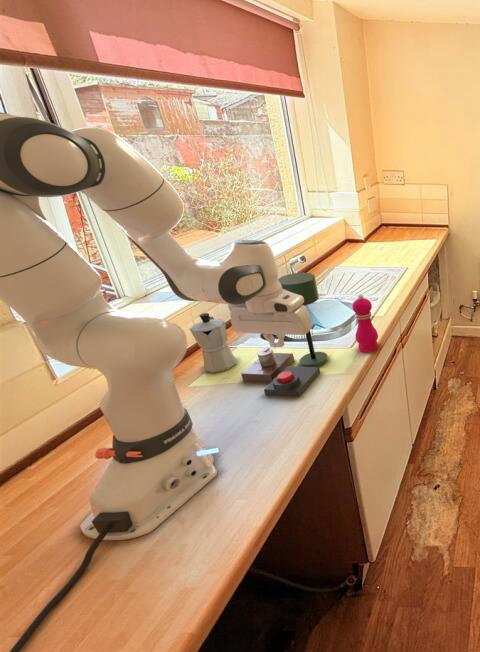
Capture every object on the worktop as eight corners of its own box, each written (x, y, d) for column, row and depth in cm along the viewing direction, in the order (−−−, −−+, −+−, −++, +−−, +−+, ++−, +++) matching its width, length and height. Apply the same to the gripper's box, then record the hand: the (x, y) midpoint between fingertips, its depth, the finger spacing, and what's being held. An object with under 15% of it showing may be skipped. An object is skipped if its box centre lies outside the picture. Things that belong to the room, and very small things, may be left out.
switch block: (299, 397, 112) (296, 386, 111) (265, 396, 113) (261, 384, 111) (320, 373, 123) (318, 362, 122) (289, 372, 124) (286, 361, 122)
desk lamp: (322, 371, 124) (303, 285, 112) (290, 370, 125) (269, 283, 113) (336, 354, 133) (320, 273, 122) (307, 353, 134) (288, 272, 122)
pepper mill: (352, 350, 136) (343, 296, 128) (368, 341, 142) (360, 289, 134) (368, 355, 133) (359, 300, 125) (383, 346, 139) (376, 293, 131)
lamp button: (288, 383, 112) (287, 378, 111) (276, 383, 112) (274, 378, 112) (295, 376, 115) (294, 371, 115) (283, 375, 116) (282, 370, 115)
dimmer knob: (270, 366, 121) (267, 354, 119) (257, 366, 121) (254, 354, 119) (278, 359, 124) (274, 347, 123) (265, 359, 125) (262, 347, 123)
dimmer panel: (272, 383, 118) (270, 374, 117) (243, 382, 119) (240, 373, 117) (294, 361, 129) (292, 353, 128) (267, 360, 130) (265, 352, 128)
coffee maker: (238, 370, 124) (221, 318, 117) (203, 379, 119) (184, 326, 112) (236, 349, 135) (221, 301, 128) (204, 357, 131) (187, 307, 123)
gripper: (218, 304, 101) (233, 350, 107) (296, 306, 101) (307, 353, 106) (234, 294, 107) (248, 339, 113) (309, 296, 106) (319, 341, 112)
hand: (277, 346), depth 110 cm, fingers closed
